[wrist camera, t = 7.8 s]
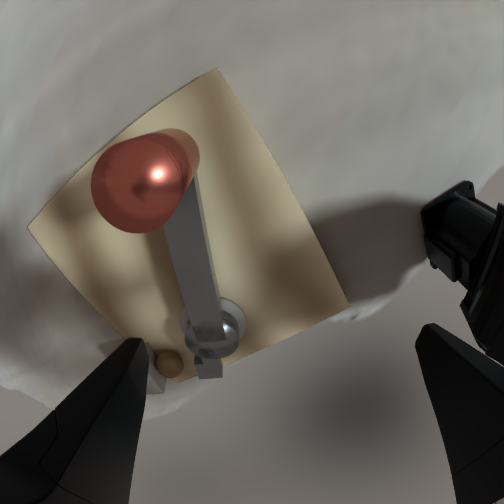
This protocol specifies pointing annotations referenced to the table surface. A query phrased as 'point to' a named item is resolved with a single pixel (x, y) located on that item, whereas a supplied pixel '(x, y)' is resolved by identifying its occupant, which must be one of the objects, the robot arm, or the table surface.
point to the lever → (170, 229)
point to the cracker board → (219, 233)
